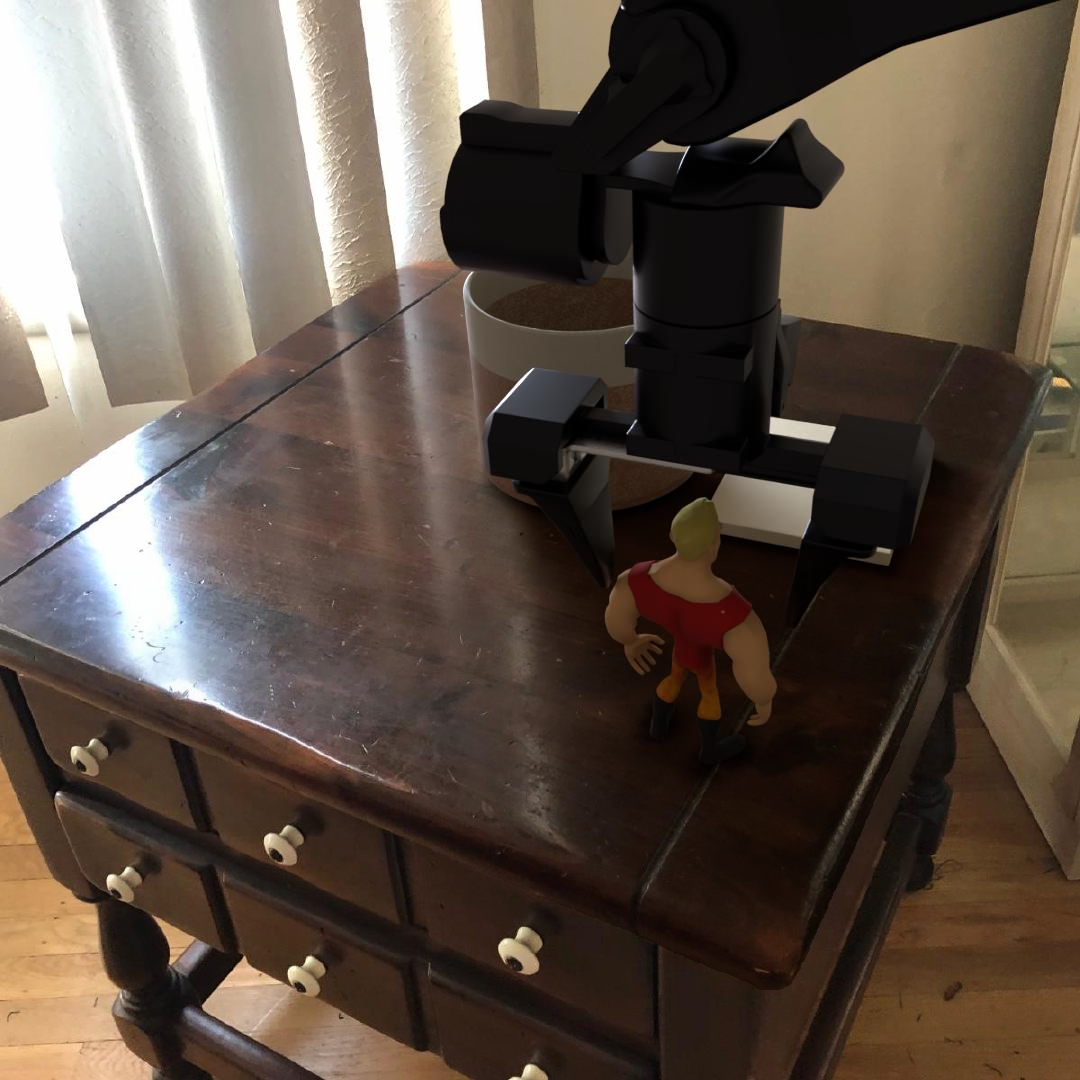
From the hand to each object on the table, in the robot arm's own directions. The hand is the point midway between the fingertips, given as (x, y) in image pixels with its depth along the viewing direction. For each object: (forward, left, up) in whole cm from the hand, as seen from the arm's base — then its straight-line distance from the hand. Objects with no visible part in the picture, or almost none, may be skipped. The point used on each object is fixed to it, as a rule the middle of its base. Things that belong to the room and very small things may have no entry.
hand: (697, 602), depth 55 cm
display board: (-1, -25, -9) cm, 27 cm away
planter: (+15, -24, -9) cm, 30 cm away
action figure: (0, 0, -9) cm, 9 cm away
